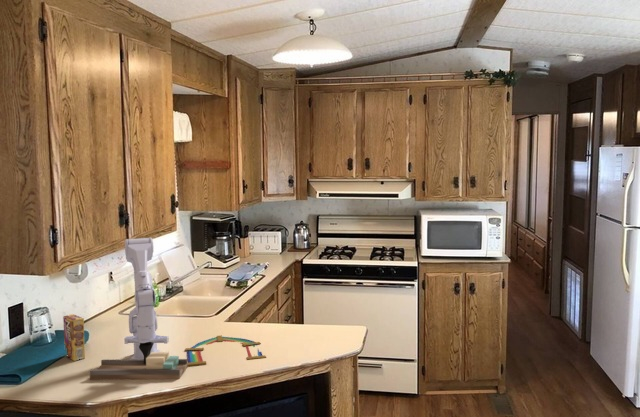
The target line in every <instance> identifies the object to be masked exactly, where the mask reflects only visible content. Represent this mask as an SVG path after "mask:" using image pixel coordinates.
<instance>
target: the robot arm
mask: <svg viewBox="0 0 640 417" xmlns="http://www.w3.org/2000/svg"><path fill="white" fill-rule="evenodd" d="M124 252H125V259H126V262H127V263H131V265H132V267H133V276H134V278H133V279H134V305H135V307H134V308H133V309H132V310H130V311H129V313H128V331H129V334H131V335H129V336H125V337H124V339H123V340H124V344H126V345H127V344H133V355H132V356H131V357H130V358H129V359H144V365H146V358H147V357H148V356H149V355H150V353H151V352H160V349H158V344H168V343H169V342H170V340H169V335H157V333H156V331H157V330H158V316H157V311H156V309H155V306H156V303H157V300H156V298H157V297H156V291H155V288H154V286H153V280H152V279H153V278H152V277H153V276H152V274H151V273H150V272H148V262H149V261H151V260H152V259H153V255H154V239H153V238H152V237H150V236H149V237H141V238H125V240H124Z"/></svg>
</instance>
